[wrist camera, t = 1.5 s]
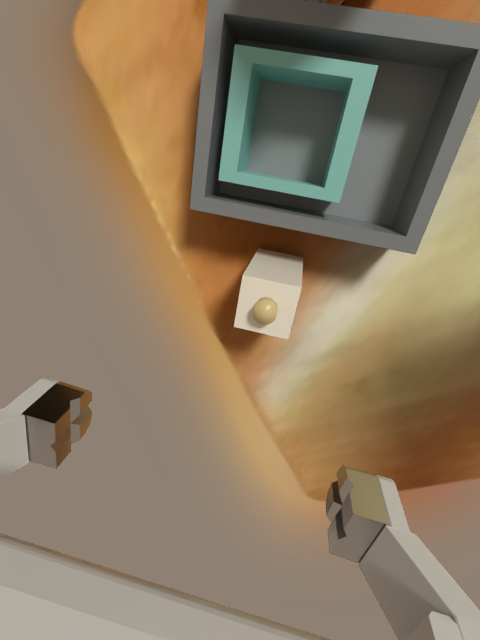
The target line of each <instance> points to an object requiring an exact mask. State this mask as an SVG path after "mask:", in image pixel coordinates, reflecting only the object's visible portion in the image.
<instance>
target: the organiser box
mask: <svg viewBox="0 0 480 640" xmlns="http://www.w3.org/2000/svg"><path fill="white" fill-rule="evenodd" d="M235 44H237V45H244V46H250V47H257V48H264V49H271V50H277V51H284V52H291V53H297V54H304V55H311V56H318V57H324V58H331V59H338V60H345V61H351V62H358V63H365V64H371V65H378V69H377V73H376V76H375V80H374V83H373V87H372V90H371V94H370V97H369V101H368V104H367V108H366V111H365V115H364V118H363V122H362V125H361V129H360V133H359V136H358V140H357V143H356V147H355V150H354V154H353V157H352V161H351V164H350V168H349V171H348V175H347V178H346V182H345V185H344V189H343V192H342V196H341V199H340V203H336V202H330V201H325V200H320V199H315V198H309V197H304V196H299V195H294V194H288V193H283V192H278V191H273V190H267V189H262V188H257V187H252V186H246V185H241V184H236V183H231V182H225V181H220V180H218V179H219V170H220V162H221V154H222V146H223V138H224V129H225V121H226V113H227V105H228V96H229V88H230V80H231V72H232V63H233V55H234V47H235ZM345 94H346V92H342V91H336V90H330V89H323V88H317V87H311V86H304V85H298V84H292V83H285V82H279V81H273V80H266V79H261V81H260V88H259V94H258V100H257V107H256V113H255V120H254V126H253V133H252V139H251V145H250V152H249V158H248V165H247V171H250V172H256V173H261V174H267V175H272V176H277V177H283V178H288V179H293V180H299V181H304V182H310V183H315V184H320V185H322V184H323V180H324V176H325V172H326V168H327V164H328V161H329V157H330V153H331V149H332V145H333V141H334V137H335V133H336V129H337V125H338V121H339V117H340V113H341V110H342V106H343V102H344V98H345ZM479 99H480V24H477V23H469V22H462V21H454V20H447V19H439V18H432V17H424V16H417V15H409V14H402V13H394V12H387V11H379V10H372V9H364V8H357V7H349V6H342V5H334V4H327V3H319V2H312V1H304V0H208V6H207V18H206V29H205V40H204V52H203V63H202V74H201V86H200V97H199V108H198V120H197V131H196V142H195V154H194V165H193V176H192V188H191V199H190V209H192V210H197V211H202V212H207V213H212V214H217V215H222V216H227V217H232V218H237V219H242V220H247V221H252V222H257V223H262V224H267V225H272V226H277V227H282V228H287V229H292V230H297V231H302V232H307V233H312V234H317V235H322V236H326V237H331V238H336V239H341V240H346V241H351V242H356V243H361V244H366V245H371V246H376V247H381V248H386V249H391V250H396V251H401V252H406V253H411V254H416V252H417V249H418V247H419V245H420V242H421V240H422V237H423V235H424V232H425V230H426V228H427V225H428V223H429V220H430V218H431V215H432V213H433V211H434V208H435V206H436V203H437V201H438V198H439V196H440V193H441V191H442V189H443V186H444V184H445V181H446V179H447V176H448V174H449V172H450V169H451V167H452V164H453V162H454V159H455V157H456V155H457V152H458V150H459V147H460V145H461V142H462V140H463V138H464V135H465V133H466V130H467V128H468V125H469V123H470V120H471V118H472V116H473V113H474V111H475V108H476V106H477V103H478V101H479Z"/></svg>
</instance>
